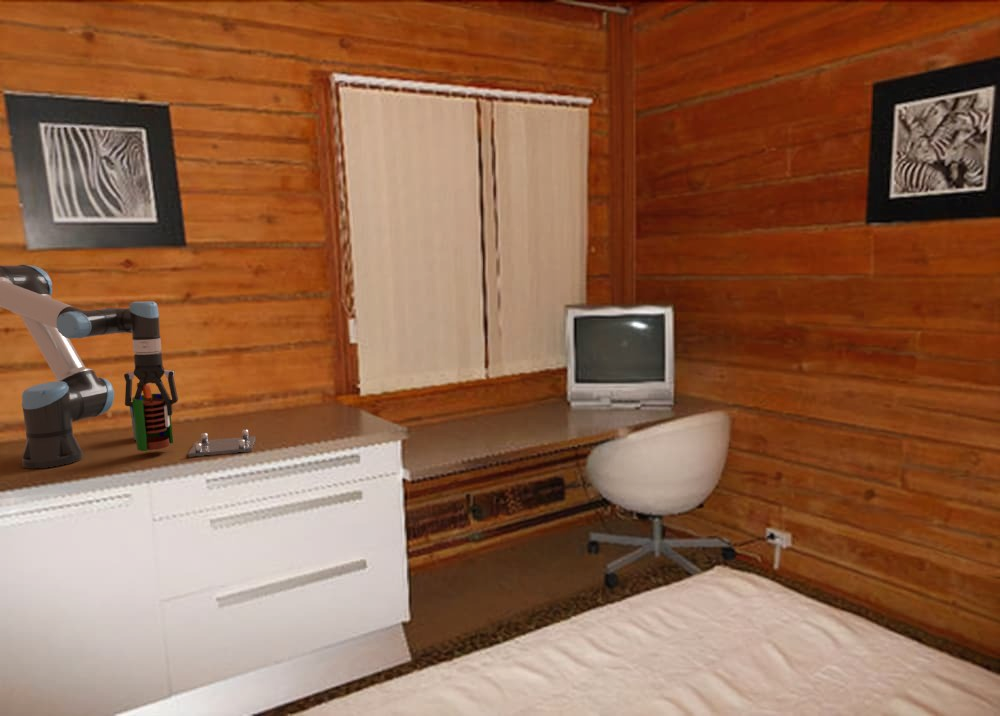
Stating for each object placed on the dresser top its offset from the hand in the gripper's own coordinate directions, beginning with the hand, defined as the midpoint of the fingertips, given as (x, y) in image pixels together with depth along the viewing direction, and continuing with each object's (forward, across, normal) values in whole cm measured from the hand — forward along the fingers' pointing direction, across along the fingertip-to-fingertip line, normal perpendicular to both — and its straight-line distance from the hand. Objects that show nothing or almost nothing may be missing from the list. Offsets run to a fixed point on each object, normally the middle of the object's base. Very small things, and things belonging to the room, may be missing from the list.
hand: (154, 426), depth 210 cm
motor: (+6, 0, 0) cm, 6 cm away
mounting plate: (+8, +19, 0) cm, 21 cm away
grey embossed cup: (+9, -7, +24) cm, 26 cm away
